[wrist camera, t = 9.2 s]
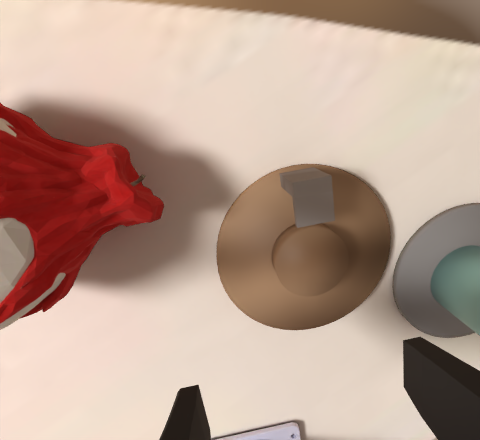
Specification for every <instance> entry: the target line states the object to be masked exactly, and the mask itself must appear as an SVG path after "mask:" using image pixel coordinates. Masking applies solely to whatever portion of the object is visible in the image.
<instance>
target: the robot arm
mask: <svg viewBox="0 0 480 440" xmlns="http://www.w3.org/2000/svg"><path fill="white" fill-rule="evenodd" d="M403 358H404V388H405V390H406V391H407V393H408V395H409V397H410V398H411V400H412V402H413V404H414V405H415V407H416V408H417V410H418V412H419V413H420V415H421V417H422V418H423V419H424V421H425V422H426V424H427V425H428V426H429V428H430V429H431V430H432V432H433V433H434V435H435V436H436V437H437V439H438V440H480V371H479V370H477V369H475V368H474V367H472V366H470V365H468V364H467V363H465V362H463V361H461V360H460V359H458V358H456V357H454V356H453V355H451V354H449V353H448V352H446V351H444V350H442V349H441V348H439V347H437V346H436V345H434V344H432V343H430V342H429V341H427V340H425V339H423V338H421V337H417V338H412V339H408V340H403ZM159 440H211V436H210V427H209V424H208V420H207V416H206V412H205V408H204V405H203V401H202V397H201V393H200V389H199V386H198V385H195V386H190V387H186V388H181V389H180V390H179V391H178V393H177V396H176V399H175V402H174V405H173V407H172V410H171V413H170V415H169V418H168V420H167V423H166V425H165V428H164V430H163V433H162V435H161V437H160V439H159ZM215 440H301V437H300V430H299V426H298V424H297V423H294V422H291V423H286V424H282V425H278V426H273V427H269V428H264V429H260V430H255V431H251V432H246V433H242V434H237V435H233V436H229V437H224V438H220V439H215Z"/></svg>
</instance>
